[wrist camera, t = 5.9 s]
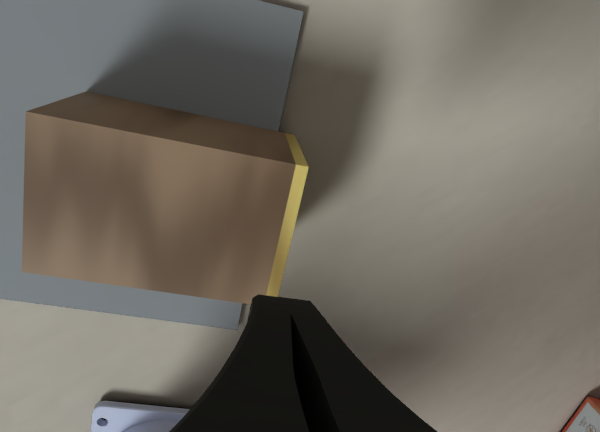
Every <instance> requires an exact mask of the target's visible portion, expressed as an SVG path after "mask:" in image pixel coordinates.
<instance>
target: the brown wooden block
mask: <svg viewBox="0 0 600 432" xmlns="http://www.w3.org/2000/svg"><path fill="white" fill-rule="evenodd" d="M308 168H309V166H308V164H307V162H306V160H305V157H304V155H303V153H302V150H301V148H300V146H299V144H298V141H297V139H296V137H295V135H294V134H289V133H284V132H280V131H275V130H270V129H265V128H260V127H255V126H251V125H246V124H241V123H236V122H231V121H226V120H222V119H217V118H212V117H207V116H202V115H198V114H193V113H188V112H183V111H178V110H173V109H169V108H164V107H159V106H154V105H149V104H145V103H140V102H135V101H130V100H125V99H120V98H116V97H111V96H106V95H101V94H96V93H92V92H87V91H86V92H83V93H80V94H77V95H74V96H71V97H68V98H65V99H62V100H59V101H56V102H53V103H50V104H47V105H44V106H41V107H38V108H35V109H31V110H28V111H26V118H25V158H24V198H23V239H22V272H25V273H33V274H40V275H47V276H54V277H61V278H68V279H75V280H82V281H89V282H96V283H103V284H110V285H117V286H124V287H131V288H138V289H145V290H152V291H159V292H166V293H174V294H181V295H188V296H195V297H202V298H209V299H216V300H223V301H230V302H237V303H244V304H251V302H252V298H253V297H255V296H256V295H258V294H259V295H267V296H274V297H278V294H279V290H280V286H281V282H282V278H283V273H284V269H285V265H286V261H287V257H288V252H289V248H290V244H291V240H292V236H293V231H294V227H295V223H296V219H297V215H298V210H299V206H300V202H301V198H302V194H303V189H304V185H305V181H306V177H307V172H308Z"/></svg>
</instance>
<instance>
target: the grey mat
mask: <svg viewBox="0 0 600 432" xmlns="http://www.w3.org/2000/svg"><path fill="white" fill-rule="evenodd" d="M302 17H303V11H299V10H296V9H292V8H288V7H284V6H280V5H276V4H272V3H268V2H264V1H260V0H0V299H6V300H14V301H21V302H29V303H36V304H44V305H52V306H59V307H67V308H74V309H82V310H89V311H97V312H105V313H112V314H120V315H127V316H135V317H143V318H150V319H158V320H165V321H173V322H181V323H188V324H196V325H203V326H211V327H219V328H226V329H234V330H237V328H238V323H239V318H240V313H241V308H242V304H243V303H237V302H230V301H223V300H216V299H209V298H202V297H195V296H188V295H181V294H174V293H166V292H159V291H152V290H145V289H138V288H131V287H124V286H117V285H110V284H103V283H96V282H89V281H82V280H75V279H68V278H61V277H54V276H47V275H40V274H33V273H25V272H22V239H23V198H24V158H25V118H26V111H28V110H31V109H35V108H38V107H41V106H44V105H47V104H50V103H53V102H56V101H59V100H62V99H65V98H68V97H71V96H74V95H77V94H80V93H83V92H86V91H87V92H92V93H96V94H101V95H106V96H111V97H116V98H120V99H125V100H130V101H135V102H140V103H145V104H149V105H154V106H159V107H164V108H169V109H173V110H178V111H183V112H188V113H193V114H198V115H202V116H207V117H212V118H217V119H222V120H226V121H231V122H236V123H241V124H246V125H251V126H255V127H260V128H265V129H270V130H275V131H279V127H280V122H281V117H282V113H283V108H284V103H285V98H286V94H287V89H288V84H289V79H290V75H291V70H292V65H293V60H294V55H295V51H296V46H297V41H298V36H299V32H300V27H301V22H302Z"/></svg>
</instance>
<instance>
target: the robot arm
mask: <svg viewBox="0 0 600 432" xmlns="http://www.w3.org/2000/svg"><path fill="white" fill-rule="evenodd" d="M101 418H105V419H106V420H102V419H101ZM91 432H437V431H436V430H434V429H433V428H432V427H431V426H429V425H428V424H427V423H426V422H424V421H423V420H422V419H421V418H419V417H418V416H417V415H416V414H415V413H414V412H412V411H411V410H410V409H409V408H408V407H407V406H406V405H404V404H403V403H402V402H401V401H400V400H399V399H398V398H396V397H395V396H394V395H393V394H392V393H391V392H390V391H389V390H388V389H387V388H386V387H385V386H384V385H383V384H382V383H381V382H380V381H379V380H378V379H377V378H376V377H375V376H374V375H373V374H372V373H371V372H370V371H369V370H368V369H367V368H366V367H365V366H364V365H363V364H362V363H361V361H360V360H359V359H358V358H357V357H356V356H355V355H354V354H353V353H352V351H351V350H350V349H349V348H348V347H347V346H346V344H345V343H344V342H343V341H342V340H341V338H340V337H339V336H338V335H337V334H336V332H335V331H334V330H333V329H332V327H331V326H330V325H329V324H328V322H327V321H326V320H325V319H324V317H323V316H322V315H321V314H320V312H319V311H318V310H317V308H316V307H315V306H314V305H313V304H312V302H311V301H305V300H297V299H290V298H282V297H274V296H267V295H259V294H258V295H256V296H255V297H253V298H252V302H251V307H250V312H249V317H248V322H247V325H246V327H245V329H244V331H243V333H242V335H241V337H240V339H239V341H238V343H237V345H236V347H235V348H234V350H233V352H232V353H231V355H230V357H229V358H228V360H227V361H226V363H225V365H224V366H223V368H222V369H221V371H220V372H219V374H218V375H217V377H216V378H215V379H214V381H213V382H212V383H211V385H210V386H209V387H208V389H207V390H206V391H205V392H204V394H203V395H202V396H201V397H200V399H199V400H198V401H197V402H196V403H195V404H194V405H193V407H192V408H191V409H183V408H173V407H163V406H153V405H143V404H133V403H123V402H113V401H101V402H98V403H97V404H96V405H95V408H94V410H93V414H92V425H91Z"/></svg>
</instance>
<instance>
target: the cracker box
mask: <svg viewBox="0 0 600 432" xmlns="http://www.w3.org/2000/svg"><path fill="white" fill-rule="evenodd" d="M562 432H600V399H597V398H594V397H591V396H588V397H586V399H585V400H584V402H583V403H582V404H581V406H580V407H579V409H578V410H577V412H576V413H575V414H574V416H573V417H572V418H571V420H570V421H569V422H568V424H567V425H566V427H565V428H564V429H563V431H562Z"/></svg>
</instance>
